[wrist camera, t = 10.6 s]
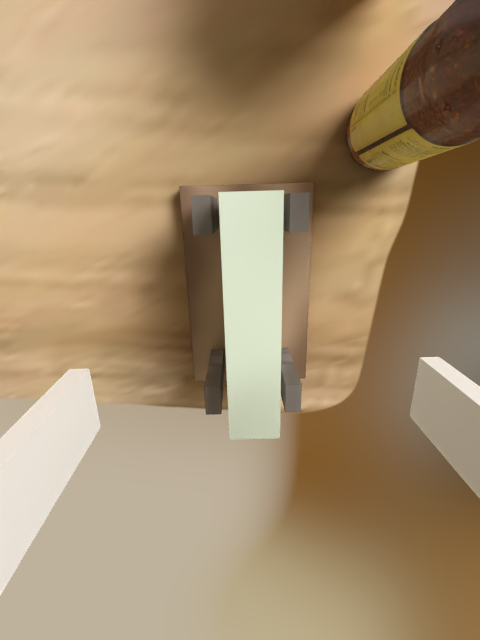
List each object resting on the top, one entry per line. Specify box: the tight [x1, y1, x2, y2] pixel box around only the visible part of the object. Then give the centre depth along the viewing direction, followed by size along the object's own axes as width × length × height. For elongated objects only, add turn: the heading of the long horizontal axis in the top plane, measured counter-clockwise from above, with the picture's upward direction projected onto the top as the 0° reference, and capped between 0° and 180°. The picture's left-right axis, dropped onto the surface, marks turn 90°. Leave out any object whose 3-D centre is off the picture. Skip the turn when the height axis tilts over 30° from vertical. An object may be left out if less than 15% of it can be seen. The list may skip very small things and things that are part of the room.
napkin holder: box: [179, 183, 314, 414], centre depth 27 cm, size 11×18×8 cm, turn 1°
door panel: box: [218, 190, 284, 439], centre depth 25 cm, size 4×16×10 cm, turn 2°
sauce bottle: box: [347, 0, 480, 171], centre depth 17 cm, size 6×6×20 cm
